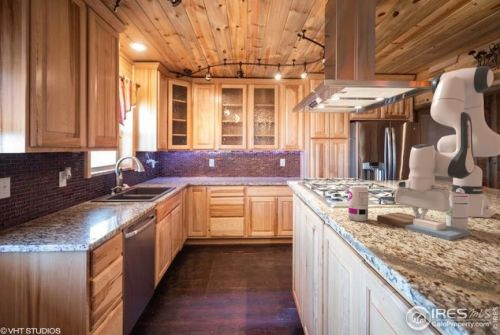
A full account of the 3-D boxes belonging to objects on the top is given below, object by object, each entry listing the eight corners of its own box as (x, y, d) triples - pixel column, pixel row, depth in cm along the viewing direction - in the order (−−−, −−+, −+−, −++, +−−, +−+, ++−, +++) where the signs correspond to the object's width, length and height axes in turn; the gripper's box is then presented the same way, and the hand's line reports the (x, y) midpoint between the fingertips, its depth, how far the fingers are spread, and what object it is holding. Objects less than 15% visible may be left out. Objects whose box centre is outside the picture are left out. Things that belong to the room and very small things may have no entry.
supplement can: (347, 220, 121) (348, 187, 120) (348, 216, 128) (349, 184, 128) (367, 222, 118) (368, 188, 117) (367, 218, 125) (368, 185, 124)
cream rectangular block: (422, 222, 112) (422, 217, 112) (446, 228, 104) (446, 223, 104) (413, 224, 109) (413, 219, 109) (436, 230, 101) (437, 224, 101)
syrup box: (468, 231, 105) (470, 194, 104) (451, 230, 106) (452, 193, 105) (460, 227, 111) (461, 191, 110) (443, 226, 112) (445, 191, 111)
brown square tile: (397, 217, 126) (397, 212, 126) (426, 224, 115) (426, 218, 115) (376, 221, 120) (377, 215, 120) (405, 228, 108) (405, 222, 108)
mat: (426, 224, 115) (426, 220, 115) (471, 234, 100) (471, 230, 100) (405, 228, 108) (405, 224, 108) (449, 240, 94) (449, 236, 94)
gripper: (454, 187, 101) (452, 223, 102) (402, 181, 120) (401, 212, 120) (444, 188, 99) (442, 225, 99) (393, 182, 117) (391, 214, 118)
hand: (419, 218), depth 110 cm, fingers closed
